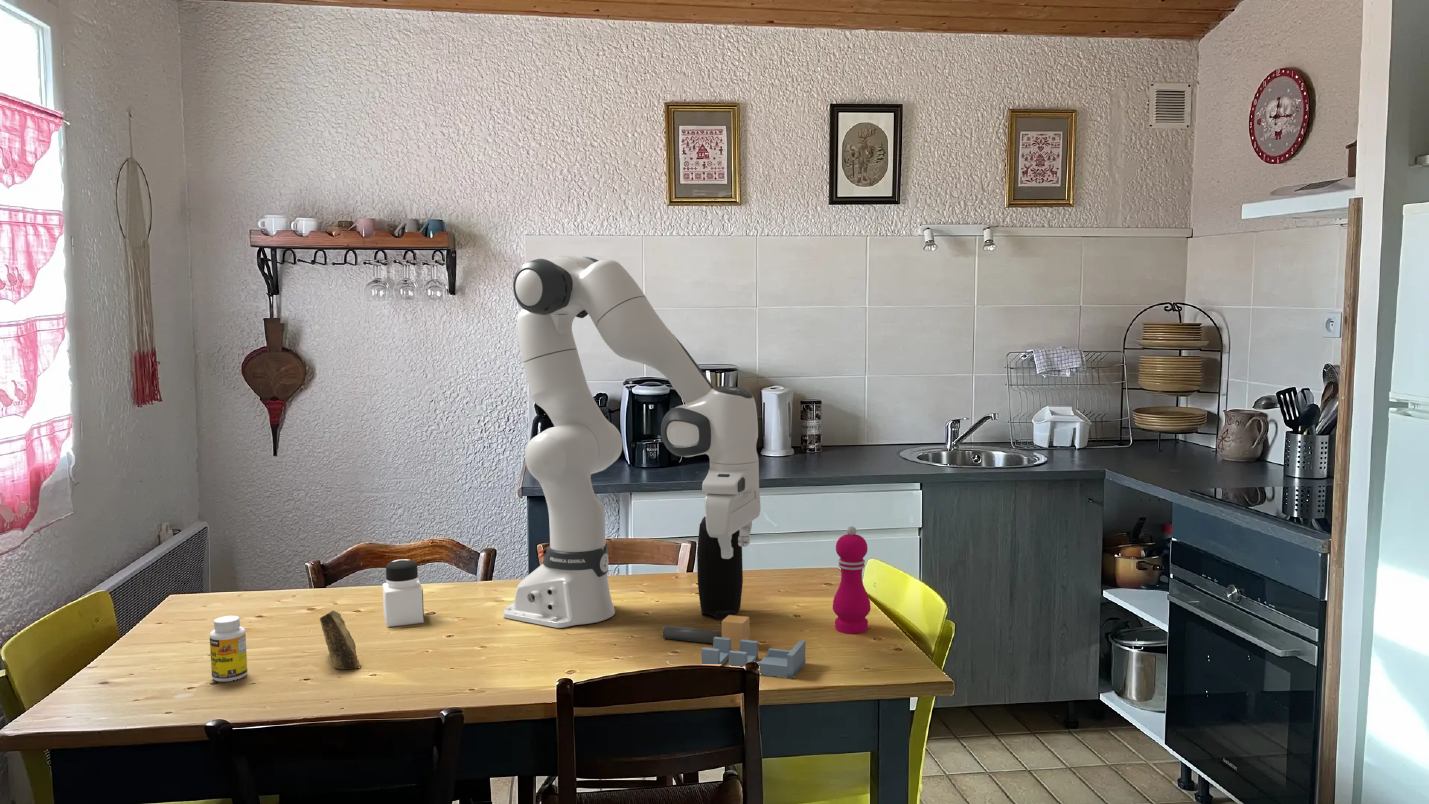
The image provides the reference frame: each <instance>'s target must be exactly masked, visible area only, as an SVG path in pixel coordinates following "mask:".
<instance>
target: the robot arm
mask: <svg viewBox="0 0 1429 804" xmlns="http://www.w3.org/2000/svg"><path fill="white" fill-rule="evenodd" d="M512 290H513V291H512V292H513V294H514V297H515V301H516V303H517V304H518V305H519V307H521V308H522V309H521V310H520V311H519V313H518V315H517V318H516V332H517V340H518V346H519V347H518V348H519V351H520V356H521V360H522V363H523V368H524V372H525V376H526V379H527V383H528V387H529V390H530V395H531V398H532V400H533V402H534V403H535V405H537V406H538V407H540V408H541V409H542V410H543V411H544V412H545V413H546V415H547V416H548V418H549V419H550V420H551V423H552V424H553V427H548V428H546V429H544V430H543V431H541V432H540V433H538V434H537V435H535V436H533V437H532V438H531V439H530V440H529V442H528V443H527V445H526V447H525V450H524V451H525V453H524V461H525V466H526V468H527V469H528V472H529V473H530V475H531V476H532V477H533V478H534V479H535V480H536V481H537V482H538V483H539V485H540V486H541V489H542V492H543V495H544V497H545V501H546V506H547V512H548V521H549V525H548V527H549V545H548V546H546V547H545V548H542V550H540V551H538V553H537V554H539V555H538V558H539V559H540V558H542V557H543V561H542V564H541V565H539V566H538V567H537V568H535V569H534V570H533V571H532V572H531V573H529V574H528V575H527V576H526V577H524V578H523V579H522V580H521V581H520V582H519V583H518V585H517V586H516V590H515V595H514V602H511V603H510V604H508V605H507V606H506V607H505V608H504V610H503V618H505V619H511V620H515V621H520V622H524V623H525V622H526V623H530V624H535V625H542V626H546V627H552V628H555V629H556V628H557V629H562V628H568V627H572V626H577V625H587V624H594V623H600V622H601V621H605V620H606V621H607V620H608V619H610V618H611V617H614V615H615V613H616V609H615V607H614V603H613V600H612V596H611V591H610V586H609V585H610V584H609V578H608V572H609V551H608V544H607V542H606V509H605V506H604V505H603V502H602V501H601V500H599V498H597V496H596V494H595V491H594V487H593V484H592V478H591V477H592V475H594V474H597V473H599V472H603V471H605V470H606V469H608V468H609V467H610V466H611V465H613V463H616V461H618V459H619V458H620V456H621V454H622V452H623V438H622V435H621V433H620V431H619V429H618V428H617V427H616V425H614V424H613V423H612V422H610V421H609V420H608V419H607V417H605V416H604V414H603V412H602V410H601V409H600V407H599V406H598V403H597V402H596V400H595V398H594V397H593V394H592V393H591V390H590V388H589V385H588V382H587V380H586V377H585V373H584V369H583V366H582V363H581V359H580V355H579V352H578V348H577V344H576V341H575V338H574V334H573V322H574V319H575V318H579V319H584V318H585V317H586V316H589V317H590V319H591V320H592V323H593V324H594V326H595V328H596V330H597V331H598V333H599V334H600V337H601V338H602V340H603V341H604V343H605V344H606V345H607V346H608V348H609V349H611V351H612V352H614V354H615V355H617V356H619V358H623V359H625V360H629V361H633V362H636V363H640V364H643V365H646V366H648V367H650V368H652V369H655V370H656V371H658V372H659V373H661V375H664V377H665V378H666V379H667V380H668V382H669V383H670V384H671V386H672V387H673V388H674V390H675V391H676V392H677V394H678V396H679V397H680V398H681V399H682V401H683V402H684V404H681V405H678V406H676V407H674V408H672V409H670V410H668V411H667V412H666V414H665V415H664V416H663V418H662V422H661V425H660V435H661V439H662V442H663V444H664V446H665V447H666V449H667V450H668V451H669V452H670V453H672V454H673V455H675V456H677V457H684V458H691V457H692V458H693V457H695V456H701V455H707V456H708V458H709V469H708V472H707V475H706V476H705V478H704V479H703V481H702V485H701V488H702V490H701V492H702V493H703V494H705V499H704V510H705V511H704V512H705V513H704V514H705V516H704V517H706V527H707V532H708V534H709V536H710V537H714V538H718V542H719V545H720V548H721V557H722V558H723V559H730V558H731V557H732V556H733V547H732V546H731V539H732V534H733V533H735V532H736V531H738V530H739V529H740V534H739V537H738V545H739V546H741V547H742V548H747V546H749V545H750V543H751V542H750V541H751V538H750V535H751V533H752V527H753V521H754V520H756V519H758V518H759V517H760V514H761V507H762V506H761V496H760V495H761V494H760V476H759V475H760V473H759V472H760V471H759V470H760V469H759V468H760V467H759V462H760V461H759V454H758V451H757V442H758V438H759V425H758V424H759V423H758V422H759V421H758V411H757V405H756V400H755V397H754V396H753V394H752V392H750V391H748V390H747V389H745V388H742V387H737V386H733V385H732V386H729V385H718V386H714V385H713V384H712V383H711V381H710V380H709V379H708V377H707V376H706V375H705V373H704V371H703V370H701V368H700V366H699V365H698V364H697V362H696V360H695V359H694V358H693V357H692V356H691V354H690V353H689V352H688V350H687V349H686V348H685V346H684V345H683V344H682V343H681V341H680V340H679V339H678V338H677V337H676V335H674V334H673V332H671V330H670V329H669V328H668V326H666V325H665V323H664V322H663V320H662V319H661V317H660V316H659V315H658V313H657V311H656V310H655V309H654V308H653V306H652V304H651V303H650V301H649V299H648V298H647V296H646V295H645V294H644V292H643V290H642V289H641V287H640V285H639V284H638V283H637V282H636V280H635V279H634V278H633V277H632V276H631V273H629V272H628V271H627V269H625V268H624V266H622V265H621V263H620V262H618V261H616V260H613V259H601V260H598V259H596V258H593V257H590V256H580V257H579V256H571V255H568V256H567V255H562V256H561V255H560V256H557V257H549V258H537V259H536V258H535V259H533V260H529V261H527V262H526V263H523V264H522V265H521V266H520V267H519V268H518V269H517V271H516V272H515V274H514V278H513V281H512Z"/></svg>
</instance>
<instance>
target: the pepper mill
mask: <svg viewBox="0 0 1429 804" xmlns="http://www.w3.org/2000/svg"><path fill="white" fill-rule="evenodd" d="M846 532H847V533H846V534H844V535H842V536H840V537H839V538H838V540H837V541H836V543H835V552H836V554H837V556H838V557H839V559H838V568H840V583H839V585H838V588H837V591H836V593H835V595H834V598H833V600H832V610H833V612H834V614H835V615H836V616H837V617H836V618H835V620H834V628H835V630H836V631H838V632H839V633H842V632H843V633H844V634H851V635H852V634H853V635H854V634H855V635H856V634H857V635H858V634H863V633H865V632H867V631H868V629H869V620H868V618H866V617H867V616H868V615H869V614H870V612H871V609H872V608H871V607H872V606H871V601H870V597H869V595H868V593H867V590H866V588H865V585H864V582H863V575H862V574H863V569H865V567H866V566H865V565H866V564H865V562H866V559H864V557H866V555H867V554H868V543H867V541H866V539H865V538H864V537H863V536H861V535H859V534H856V533H857V529H856V527H855V526H852V525H850V526H848V527H847V529H846Z"/></svg>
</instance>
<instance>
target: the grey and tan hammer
mask: <svg viewBox="0 0 1429 804" xmlns="http://www.w3.org/2000/svg"><path fill="white" fill-rule="evenodd" d="M662 637H663V639H666V640H667V639H668V640H677V641H684V642H685V641H687V642H694V643H705V644H713V638H714V637H723V638H731V650H734V651H740V641H741V640H751V638H750V617H749V616H745V615H744V616H743V615H735V616H734V615H728V616H727V617H726V618H725V619H723V620H721V630H714V629H704V628H703V629H702V628H694V627H688V626H687V627H685V626H684V627H683V626H676V625H664V626H663V629H662Z"/></svg>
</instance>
